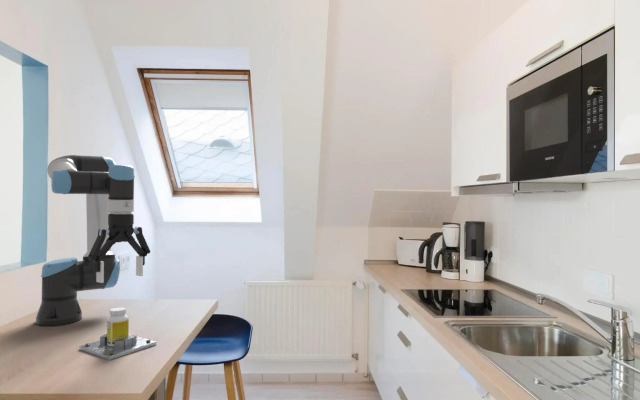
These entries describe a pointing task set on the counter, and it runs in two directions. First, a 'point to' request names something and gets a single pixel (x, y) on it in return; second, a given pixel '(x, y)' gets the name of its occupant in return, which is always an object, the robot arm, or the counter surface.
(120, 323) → the pill bottle
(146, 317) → the counter surface
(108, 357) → the collar
